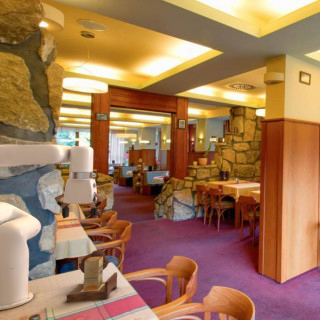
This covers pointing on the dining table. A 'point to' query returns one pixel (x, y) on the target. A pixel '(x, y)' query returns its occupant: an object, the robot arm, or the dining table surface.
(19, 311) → the dining table surface
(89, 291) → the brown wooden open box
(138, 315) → the dining table surface
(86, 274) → the shoe polish box
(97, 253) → the ice cream bowl
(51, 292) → the dining table surface
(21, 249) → the robot arm
